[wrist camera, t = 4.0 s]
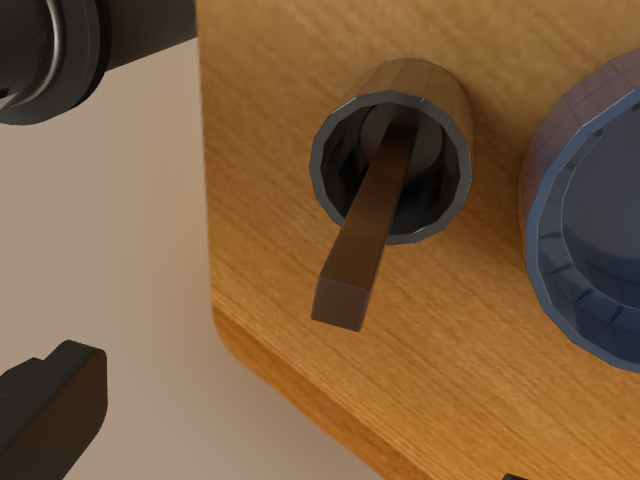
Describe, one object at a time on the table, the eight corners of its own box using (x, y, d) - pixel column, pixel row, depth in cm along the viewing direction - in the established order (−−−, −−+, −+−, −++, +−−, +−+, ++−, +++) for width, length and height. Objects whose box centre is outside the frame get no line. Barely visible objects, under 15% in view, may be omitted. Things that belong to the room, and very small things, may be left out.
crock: (332, 169, 32) (299, 223, 26) (355, 45, 29) (323, 75, 23) (453, 198, 32) (447, 261, 26) (489, 74, 28) (493, 112, 22)
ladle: (358, 155, 31) (258, 344, 17) (374, 79, 29) (275, 220, 15) (434, 173, 31) (396, 383, 16) (455, 97, 29) (433, 261, 14)
